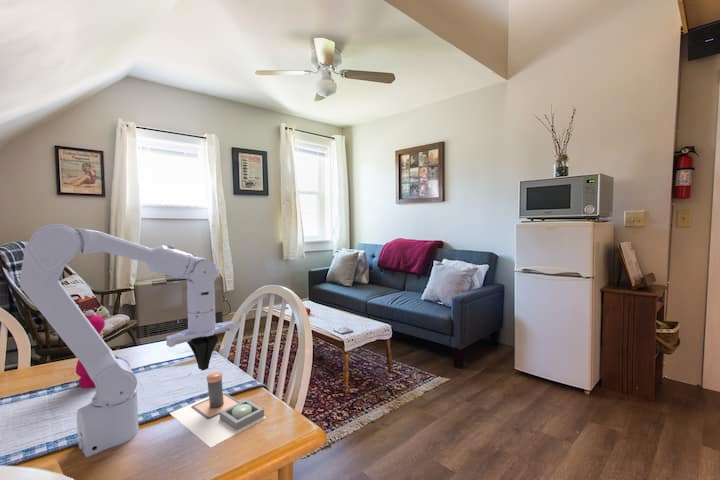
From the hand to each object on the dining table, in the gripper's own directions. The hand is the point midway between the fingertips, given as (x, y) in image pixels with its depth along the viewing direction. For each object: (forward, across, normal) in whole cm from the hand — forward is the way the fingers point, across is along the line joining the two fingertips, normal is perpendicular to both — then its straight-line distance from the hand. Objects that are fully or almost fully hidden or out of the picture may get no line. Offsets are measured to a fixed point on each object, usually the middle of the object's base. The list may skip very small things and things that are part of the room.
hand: (203, 368), depth 78 cm
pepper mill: (+10, -13, +36) cm, 40 cm away
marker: (+8, +2, -2) cm, 9 cm away
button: (+8, +3, -11) cm, 14 cm away
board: (+10, 0, -6) cm, 11 cm away
